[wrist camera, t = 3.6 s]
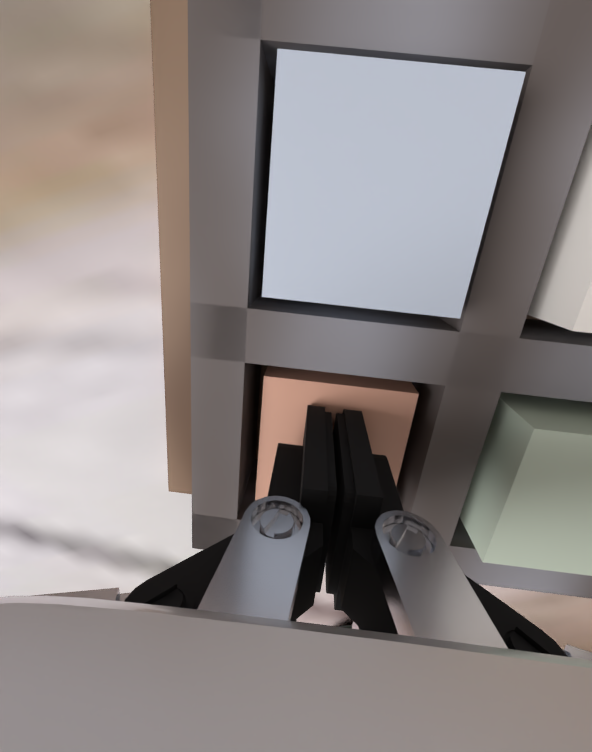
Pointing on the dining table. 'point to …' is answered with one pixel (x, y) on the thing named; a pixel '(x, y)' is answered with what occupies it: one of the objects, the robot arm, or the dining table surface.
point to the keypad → (343, 323)
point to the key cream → (570, 257)
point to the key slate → (382, 179)
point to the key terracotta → (334, 392)
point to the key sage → (534, 486)
